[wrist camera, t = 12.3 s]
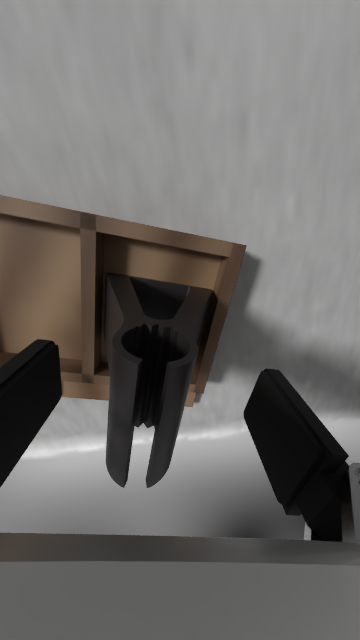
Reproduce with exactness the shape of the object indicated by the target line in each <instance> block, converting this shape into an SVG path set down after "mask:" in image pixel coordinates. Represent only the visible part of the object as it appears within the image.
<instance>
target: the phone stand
mask: <svg viewBox="0 0 360 640" xmlns="http://www.w3.org/2000/svg"><path fill="white" fill-rule="evenodd" d="M212 291H213V290H211V289H207V288H201V287H195V286H189V285H183V284H177V283H171V282H165V281H163V282H162V281H159V280H153V279H147V278H141V277H135V276H129V275H123V274H116V273H109V272H108V273H106V295H105V324H104V341H105V347H106V354H107V360H108V366H109V373H110V390H109V409H108V428H107V446H106V465H107V469H108V472H109V474H110V476H111V477H112V479H113V480H114V481H115V482H116V483H117V484H118V485H120V486H121V487H124V486H125V484H126V482H127V479H128V471H129V463H130V455H131V447H132V440H133V432H134V426H136V427H139V426H140V425H141V424H142V423H144V424H145V426H146V427H147V428H149V427H151V426H154V427H155V433H154V438H153V444H152V449H151V455H150V460H149V466H148V470H147V476H146V484H147V488H149V487H151V486H153V485H155V484H156V483H157V482H158V481H159V480H161V478H162V477H163V476H164V475H165V473H166V471H167V470H168V468H169V465H170V461H171V457H172V454H173V449H174V446H175V442H176V438H177V434H178V430H179V426H180V422H181V418H182V414H183V410H184V406H185V402H186V398H187V394H188V390H189V386H190V382H191V378H192V374H193V370H194V366H195V362H196V358H197V354H198V347H199V343H200V339H201V335H202V331H203V327H204V323H205V319H206V315H207V311H208V307H209V303H210V299H211V295H212Z"/></svg>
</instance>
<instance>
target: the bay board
mask: <svg viewBox="0 0 360 640" xmlns="http://www.w3.org/2000/svg"><path fill="white" fill-rule="evenodd" d="M246 246H247V245H242V244H237V243H232V242H227V241H222V240H217V239H212V238H207V237H202V236H198V235H193V234H188V233H183V232H178V231H173V230H168V229H163V228H158V227H153V226H149V225H144V224H139V223H134V222H129V221H124V220H119V219H114V218H109V217H104V216H99V215H95V214H90V213H85V212H80V211H75V210H70V209H65V208H60V207H55V206H50V205H46V204H41V203H36V202H31V201H26V200H21V199H16V198H11V197H6V196H1V195H0V367H1V366H2V365H4V364H5V363H6V362H8V361H9V360H10V359H11V358H13V357H14V356H15V355H17V354H18V353H19V352H21V351H22V350H23V349H25V348H26V347H27V346H28V345H30V344H31V343H32V342H34V341H35V340H37V339H43V340H51V341H54V342H55V345H58V347H59V357H60V371H61V384H62V396H61V397H70V398H83V399H96V400H109V390H110V373H109V366H108V360H107V354H106V347H105V341H104V324H105V295H106V273H108V272H109V273H116V274H123V275H129V276H135V277H141V278H147V279H153V280H159V281H162V282H163V281H165V282H171V283H177V284H183V285H189V286H195V287H201V288H207V289H211V290H213V291H212V295H211V299H210V303H209V307H208V311H207V315H206V319H205V323H204V327H203V331H202V335H201V339H200V343H199V347H198V354H197V358H196V362H195V366H194V370H193V374H192V378H191V382H190V386H189V390H188V394H187V398H186V402H185V406H186V407H193V403H194V400H195V396H196V393H204V389H205V386H206V382H207V379H208V376H209V372H210V369H211V365H212V362H213V358H214V355H215V352H216V348H217V345H218V341H219V338H220V334H221V331H222V328H223V324H224V321H225V317H226V314H227V311H228V307H229V304H230V300H231V297H232V293H233V290H234V287H235V283H236V280H237V276H238V273H239V270H240V266H241V263H242V259H243V256H244V252H245V249H246Z"/></svg>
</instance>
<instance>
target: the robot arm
mask: <svg viewBox="0 0 360 640" xmlns="http://www.w3.org/2000/svg"><path fill="white" fill-rule="evenodd" d="M61 396H62V384H61V371H60V357H59V347H58V345H55V342H54V341H51V340H43V339H37V340H35V341H34V342H32V343H31V344H30V345H28V346H27V347H26V348H25V349H23V350H22V351H21V352H19V353H18V354H17V355H15V356H14V357H13V358H11V359H10V360H9V361H8V362H6V363H5V364H4V365H2V366H1V367H0V487H1V486H2V484H3V483H4V481H5V480H6V478H7V477H8V476H9V474H10V472H11V471H12V470H13V468H14V467H15V465H16V464H17V462H18V461H19V459H20V458H21V456H22V455H23V453H24V452H25V451H26V449H27V448H28V446H29V445H30V443H31V442H32V440H33V439H34V437H35V436H36V434H37V433H38V431H39V430H40V428H41V427H42V426H43V424H44V423H45V421H46V420H47V418H48V417H49V415H50V414H51V412H52V411H53V409H54V408H55V406H56V405H57V404H58V402H59V400H60V398H61ZM244 419H245V421H246V424H247V426H248V429H249V431H250V434H251V436H252V439H253V441H254V444H255V446H256V449H257V451H258V454H259V456H260V459H261V461H262V463H263V466H264V469H265V471H266V473H267V476H268V478H269V481H270V483H271V486H272V488H273V491H274V493H275V496H276V498H277V500H278V502H279V503H281V504H282V505H283V508H284V510H285V513H286V515H299V516H300V515H301V514H302V515H303V518H304V520H305V533H304V540H286V539H284V540H283V539H254V538H220V537H181V536H180V537H179V536H139V535H137V536H135V535H93V534H92V535H90V534H36V533H0V640H360V463H352V464H351V465H350V466H349V465H348V464H347V463H346V462H345V460H346V459H347V458H348V454H347V453H346V452H345V451H344V449H343V448H342V447H341V446H340V445H339V443H338V442H337V441H336V440H335V438H334V437H333V436H332V435H331V433H330V432H329V431H328V430H327V428H326V427H325V426H324V425H323V423H322V422H321V421H320V420H319V419H318V417H317V416H316V415H315V414H314V412H313V411H312V410H311V409H310V407H309V406H308V405H307V404H306V403H305V401H304V400H303V399H302V398H301V396H300V395H299V394H298V393H297V391H296V390H295V389H294V388H293V386H292V385H291V384H290V383H289V382H288V380H287V379H286V378H285V377H284V375H283V374H282V373H281V372H280V371H279V370H275V369H265V370H264V371H262V372H261V373H260V375H259V377H258V379H257V382H256V384H255V386H254V389H253V391H252V394H251V396H250V398H249V401H248V403H247V405H246V408H245V410H244Z"/></svg>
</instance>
